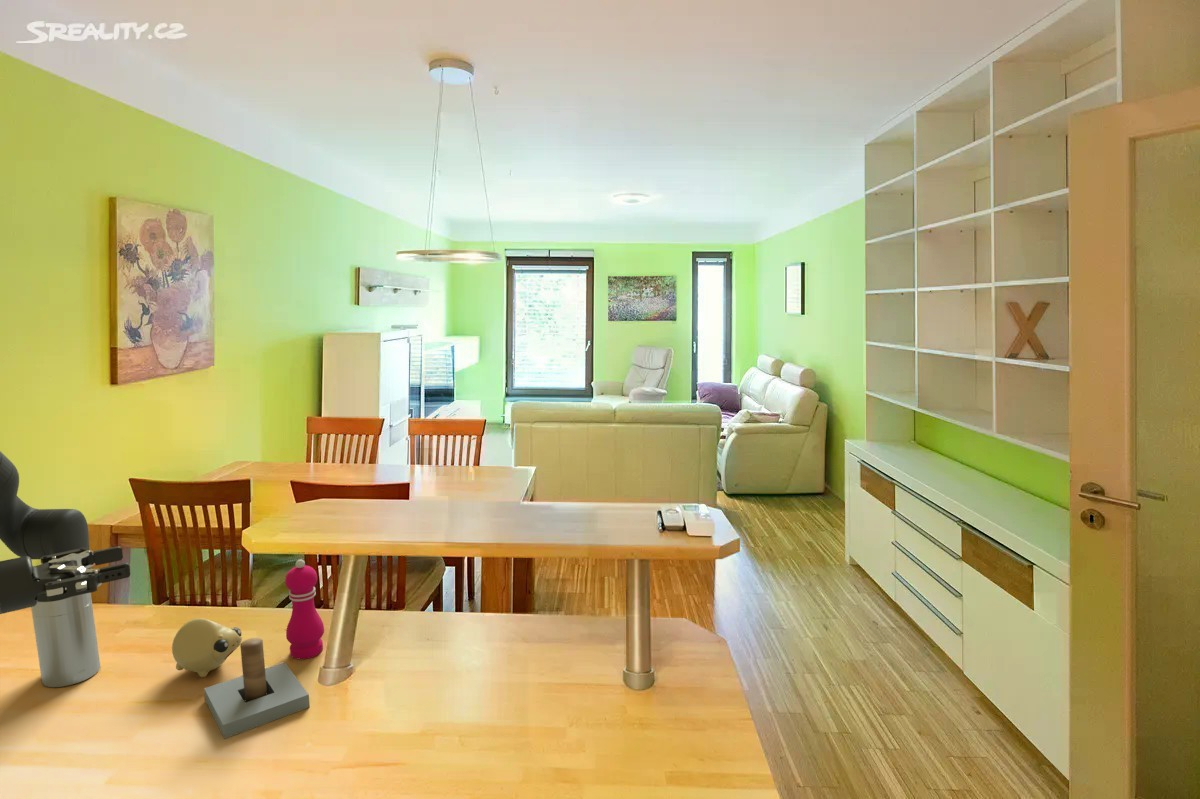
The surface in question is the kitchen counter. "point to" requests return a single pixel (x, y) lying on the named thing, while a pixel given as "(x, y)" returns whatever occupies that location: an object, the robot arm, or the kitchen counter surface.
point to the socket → (255, 701)
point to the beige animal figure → (204, 645)
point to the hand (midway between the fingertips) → (125, 560)
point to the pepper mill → (303, 613)
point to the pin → (253, 669)
